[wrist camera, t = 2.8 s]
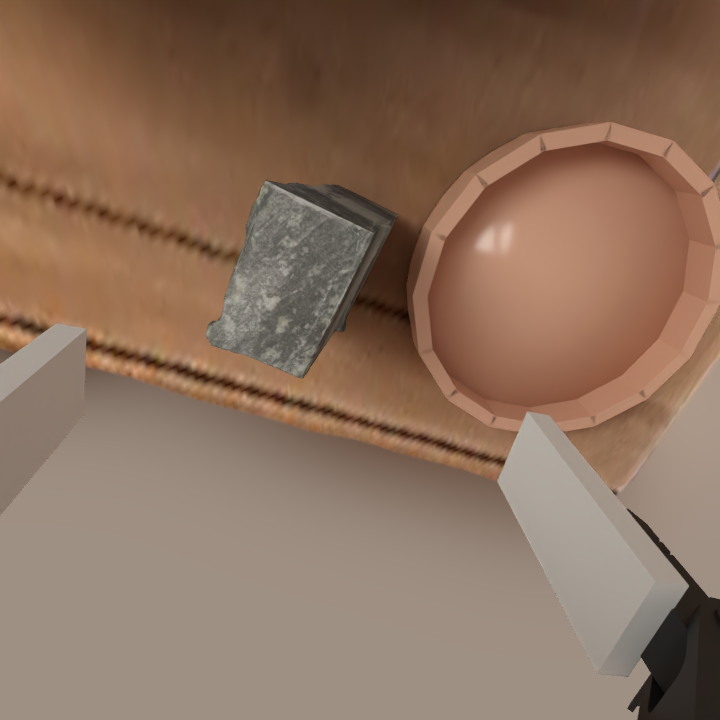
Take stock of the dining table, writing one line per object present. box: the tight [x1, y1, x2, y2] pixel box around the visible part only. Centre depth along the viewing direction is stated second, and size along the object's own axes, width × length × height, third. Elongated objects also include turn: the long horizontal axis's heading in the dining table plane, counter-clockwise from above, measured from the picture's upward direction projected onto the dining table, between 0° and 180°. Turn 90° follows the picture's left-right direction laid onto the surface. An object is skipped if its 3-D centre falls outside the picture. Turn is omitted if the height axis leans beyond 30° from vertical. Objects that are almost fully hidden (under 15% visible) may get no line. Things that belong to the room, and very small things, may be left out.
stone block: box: [206, 180, 398, 378], centre depth 29 cm, size 9×14×5 cm
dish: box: [406, 122, 720, 432], centre depth 37 cm, size 22×22×4 cm
